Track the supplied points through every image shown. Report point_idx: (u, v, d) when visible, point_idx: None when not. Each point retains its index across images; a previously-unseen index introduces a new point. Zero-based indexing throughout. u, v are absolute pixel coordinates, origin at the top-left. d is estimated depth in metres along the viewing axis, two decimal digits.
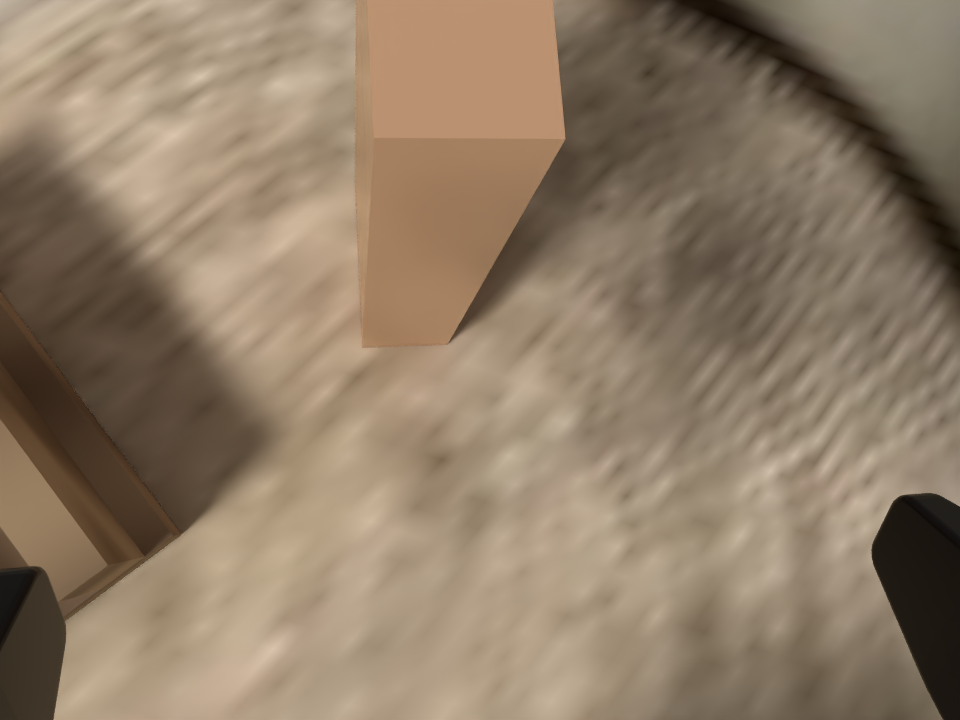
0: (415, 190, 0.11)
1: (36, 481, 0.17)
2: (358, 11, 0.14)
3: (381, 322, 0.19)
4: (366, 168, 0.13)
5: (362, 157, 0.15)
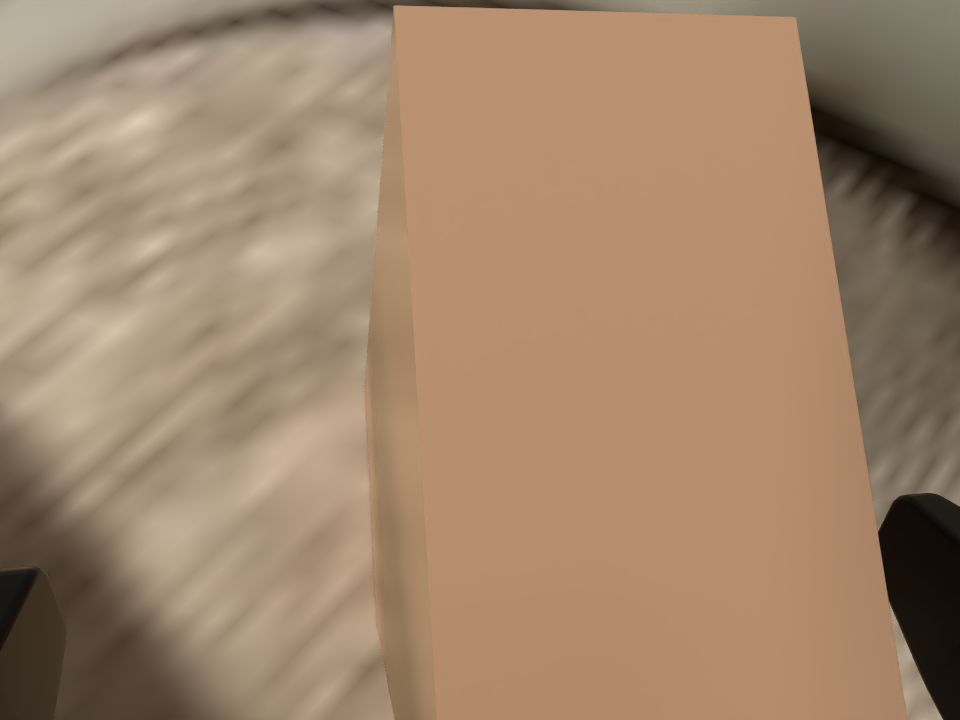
0: None
1: None
2: (382, 330, 0.07)
3: None
4: (403, 677, 0.07)
5: (387, 540, 0.09)
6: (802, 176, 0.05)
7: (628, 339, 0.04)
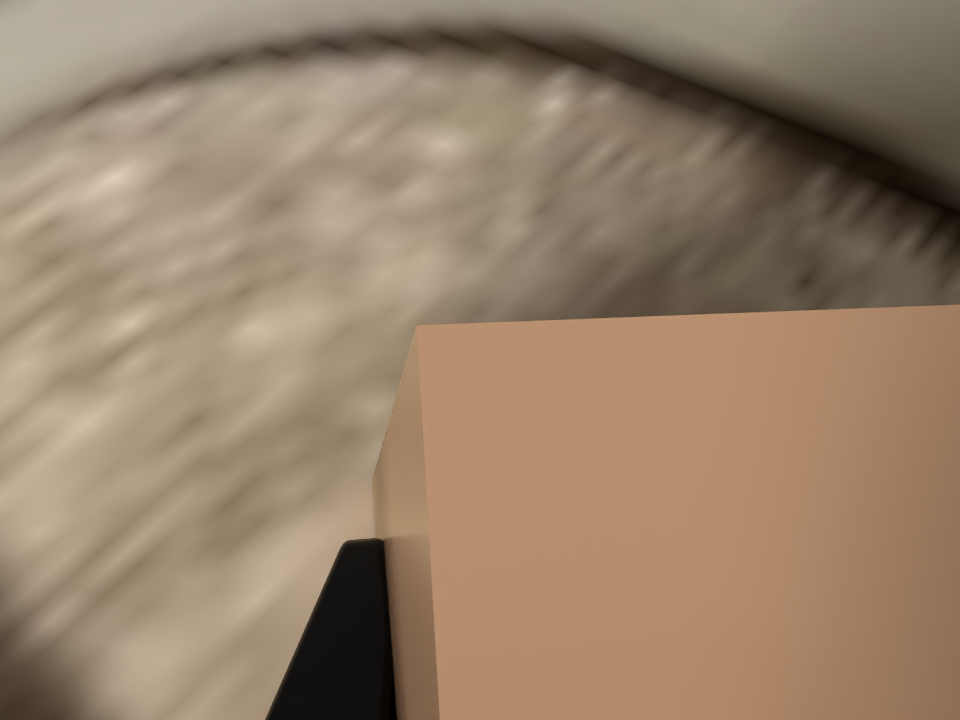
0: None
1: None
2: (393, 591, 0.05)
3: None
4: None
5: None
6: None
7: None
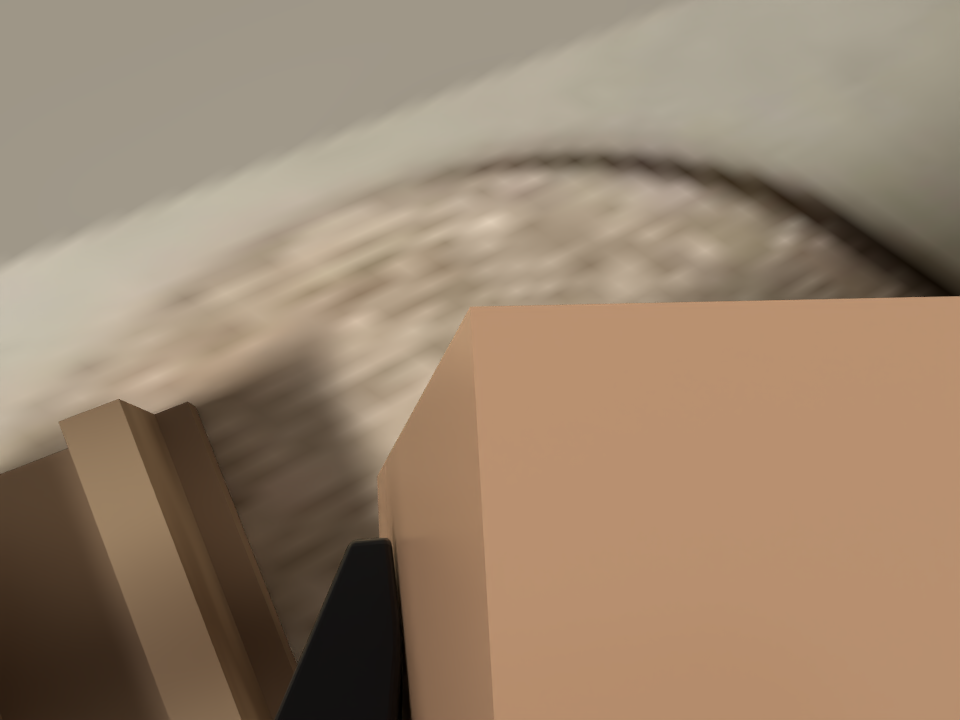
0: None
1: None
2: (411, 580, 0.05)
3: None
4: None
5: None
6: None
7: None
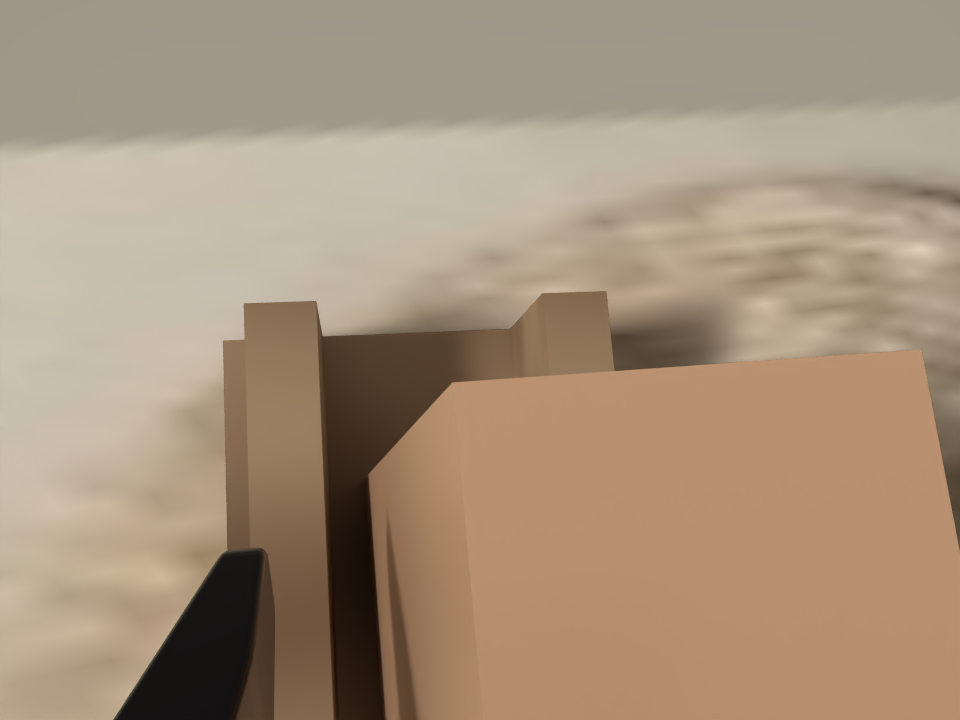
0: None
1: None
2: (408, 566, 0.07)
3: None
4: None
5: None
6: (938, 556, 0.04)
7: None
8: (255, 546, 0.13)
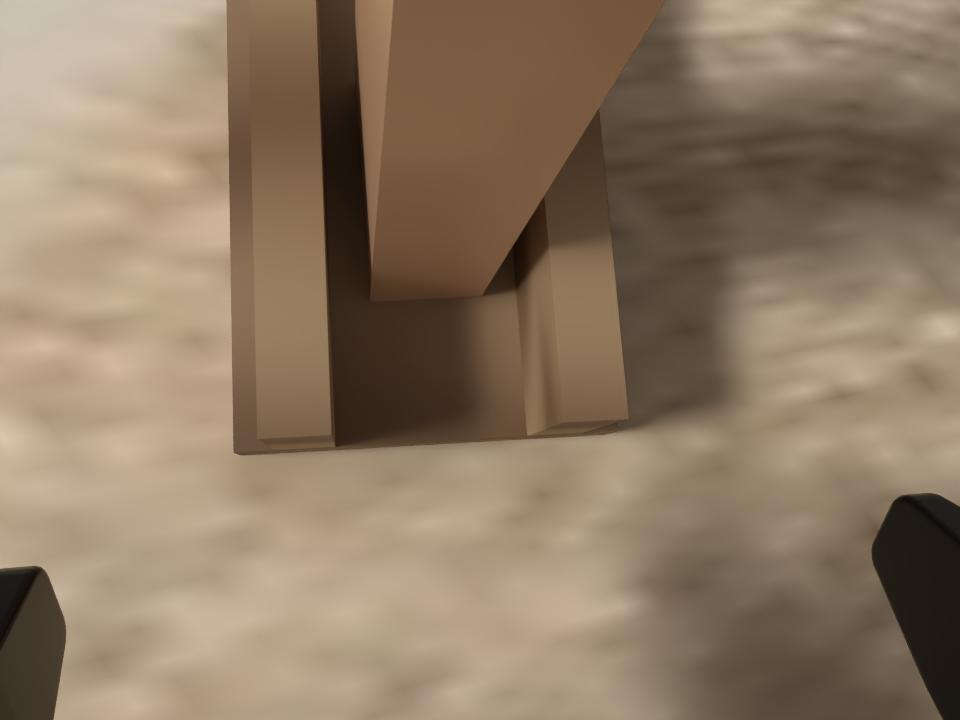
0: None
1: (608, 292, 0.14)
2: None
3: (397, 258, 0.14)
4: None
5: None
6: None
7: None
8: (254, 48, 0.14)
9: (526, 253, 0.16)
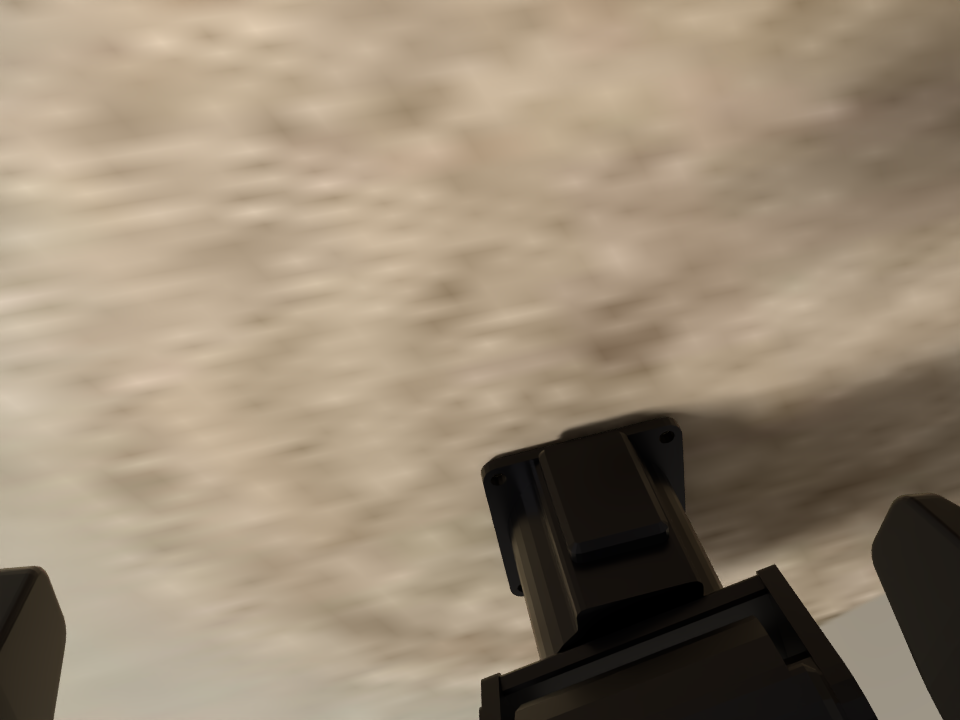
0: None
1: None
2: None
3: None
4: None
5: None
6: None
7: None
8: None
9: None
